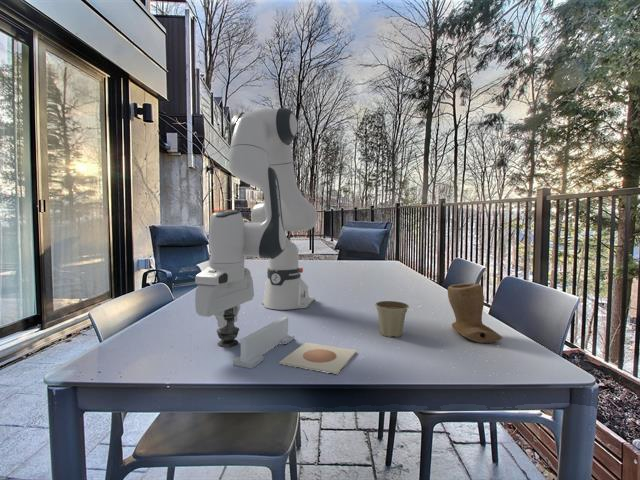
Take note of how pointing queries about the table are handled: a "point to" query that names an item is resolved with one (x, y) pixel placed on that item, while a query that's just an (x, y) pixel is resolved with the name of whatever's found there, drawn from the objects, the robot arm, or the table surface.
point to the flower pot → (391, 317)
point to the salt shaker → (228, 330)
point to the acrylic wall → (262, 343)
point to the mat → (319, 357)
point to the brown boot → (470, 312)
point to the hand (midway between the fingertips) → (227, 324)
